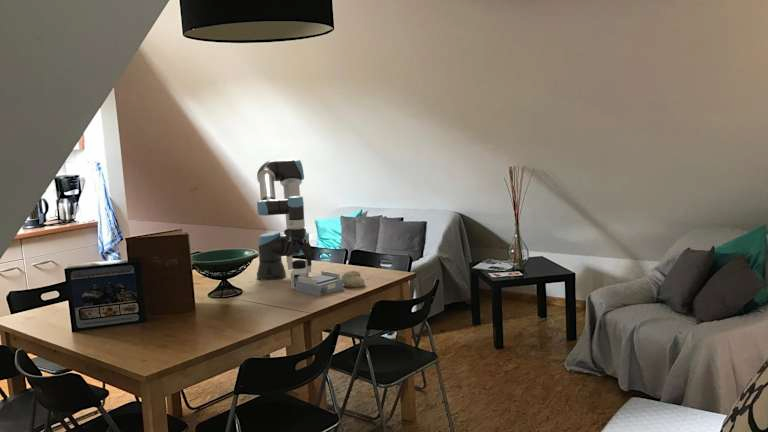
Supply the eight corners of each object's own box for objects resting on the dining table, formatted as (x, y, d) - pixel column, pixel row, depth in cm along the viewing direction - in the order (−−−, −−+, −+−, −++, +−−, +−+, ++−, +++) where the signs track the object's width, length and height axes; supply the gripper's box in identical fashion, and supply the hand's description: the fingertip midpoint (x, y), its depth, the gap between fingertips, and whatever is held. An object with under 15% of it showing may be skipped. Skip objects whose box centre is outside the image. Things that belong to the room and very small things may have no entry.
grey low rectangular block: (295, 291, 321) (295, 276, 320) (320, 284, 333) (319, 270, 332) (320, 296, 310) (319, 280, 309) (344, 289, 321) (344, 274, 320)
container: (307, 288, 327) (305, 261, 325) (291, 288, 327) (289, 262, 325) (309, 284, 335) (307, 258, 333) (293, 284, 335) (292, 259, 333)
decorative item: (334, 279, 324) (343, 267, 332) (340, 294, 328) (349, 281, 336) (355, 278, 318) (363, 266, 326) (361, 293, 322) (370, 280, 330)
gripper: (274, 227, 333) (277, 269, 335) (308, 230, 316) (310, 275, 319) (286, 225, 338) (288, 266, 341) (320, 228, 321) (322, 272, 324)
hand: (299, 270), depth 330 cm, fingers open, 13 cm apart
